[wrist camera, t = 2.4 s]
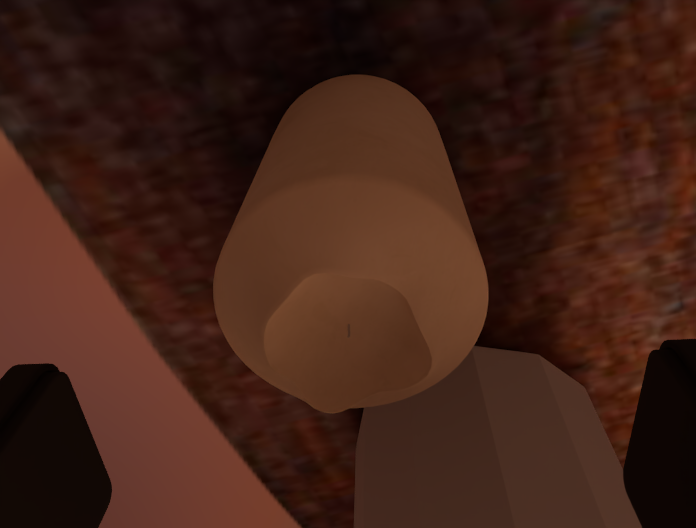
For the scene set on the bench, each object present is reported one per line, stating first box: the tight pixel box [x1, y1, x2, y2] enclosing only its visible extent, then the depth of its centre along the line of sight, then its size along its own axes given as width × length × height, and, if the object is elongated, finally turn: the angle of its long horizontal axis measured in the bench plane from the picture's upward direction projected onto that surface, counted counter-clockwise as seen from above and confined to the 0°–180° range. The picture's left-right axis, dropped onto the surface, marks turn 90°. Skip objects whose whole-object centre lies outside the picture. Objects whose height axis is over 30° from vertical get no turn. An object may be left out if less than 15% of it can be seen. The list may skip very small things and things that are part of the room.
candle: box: [213, 75, 489, 414], centre depth 15 cm, size 6×6×10 cm
